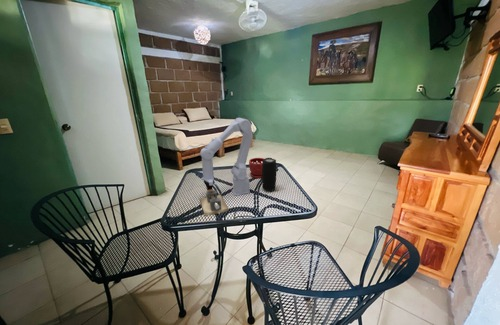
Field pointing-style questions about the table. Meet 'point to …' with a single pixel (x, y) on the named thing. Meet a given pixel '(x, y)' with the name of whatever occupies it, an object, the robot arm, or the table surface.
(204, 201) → the bearing board
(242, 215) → the table surface
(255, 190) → the table surface
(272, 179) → the portable speaker
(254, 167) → the plant pot
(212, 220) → the table surface
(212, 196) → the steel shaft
